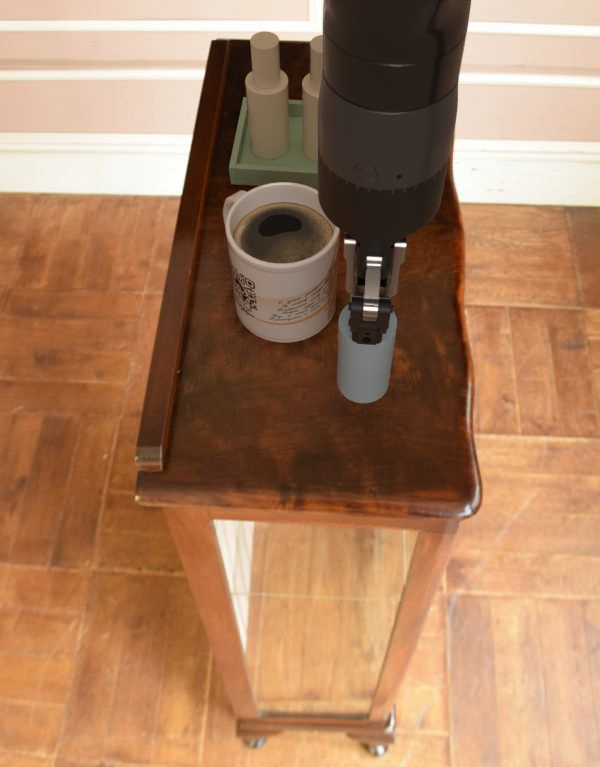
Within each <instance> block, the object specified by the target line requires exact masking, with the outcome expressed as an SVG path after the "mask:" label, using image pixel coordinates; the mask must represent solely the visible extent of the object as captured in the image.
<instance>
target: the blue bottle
mask: <svg viewBox="0 0 600 767" xmlns="http://www.w3.org/2000/svg"><path fill="white" fill-rule="evenodd" d="M351 299H352V295H351V294H350V298H349V302H351ZM348 306H349V303H348V304H346V305H345V307H343V309H342V310H341V312H340V313H339V318H338V329H337V330H338V332H337V359H336V360H337V361H336V364H337V365H336V366H337V367H336V385H337V388H338V390H339V392H340V393H341V395H342V396H344V398H346V399H347V400H349V401H350V402H354V403H358V404H370V403H373V402H376V401H378V400H380V399H381V398H382V397H383V396H384V395H385V394H386V393H387V391H388V389H389V386H390V378H391V371H392V364H393V357H394V349H395V344H396V343H395V342H396V336H397V329H398V318H397V315H396V313H395V311H394V310H393V313H390V320H389V329H387V332H386V334H382V341H381V343H379V344H376V345H366V344H357V343H355V342H353V341H352V332H351V331H350V326H348V321H349V319H350V312H351V311H350V310H348Z"/></svg>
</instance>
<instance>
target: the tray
mask: <svg viewBox="0 0 600 767" xmlns="http://www.w3.org/2000/svg"><path fill="white" fill-rule="evenodd" d="M289 126H290V148H289V150H288V152H287V153H286V154H285V155H283V156H282V157H279V158H276V159H263V158H260V157H258V156H256V155H255V154H254V153H253V152H252V150H251V148H250V137H249V124H248V111H247V99H246V96H243V97H242V101H241V107H240V112H239V116H238V121H237V126H236V131H235V136H234V140H233V145H232V150H231V155H230V159H229V165H228V173H229V180H230V181H229V182H230V185H237V186H253V187H259V186H262V185H265V184H270V183H277V182H291V183H298V184H302V185H306V186H309V187H311V188H314V189H316V190H317V191H318V162H314V161H312V160H310V159H308V158H307V157H306V156H305V155H304V153H303V150H302V99H289Z"/></svg>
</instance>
